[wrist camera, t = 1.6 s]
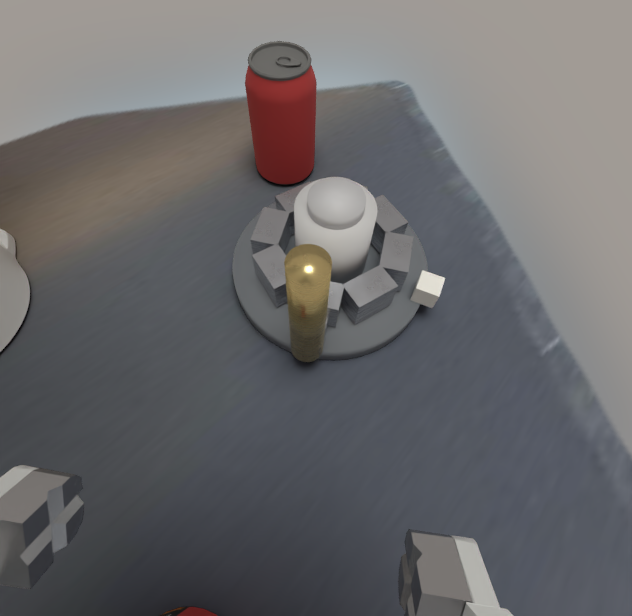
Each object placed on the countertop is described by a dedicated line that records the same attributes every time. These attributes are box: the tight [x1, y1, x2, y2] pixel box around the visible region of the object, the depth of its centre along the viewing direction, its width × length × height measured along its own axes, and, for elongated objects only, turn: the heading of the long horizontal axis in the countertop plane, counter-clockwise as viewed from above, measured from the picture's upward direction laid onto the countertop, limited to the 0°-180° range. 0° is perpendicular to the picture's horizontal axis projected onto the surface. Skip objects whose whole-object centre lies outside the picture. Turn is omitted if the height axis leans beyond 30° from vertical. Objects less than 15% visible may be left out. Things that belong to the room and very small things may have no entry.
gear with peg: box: [250, 181, 413, 362], centre depth 30 cm, size 17×13×12 cm
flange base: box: [232, 177, 445, 360], centre depth 33 cm, size 19×18×10 cm
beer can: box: [245, 41, 316, 185], centre depth 39 cm, size 7×7×12 cm
